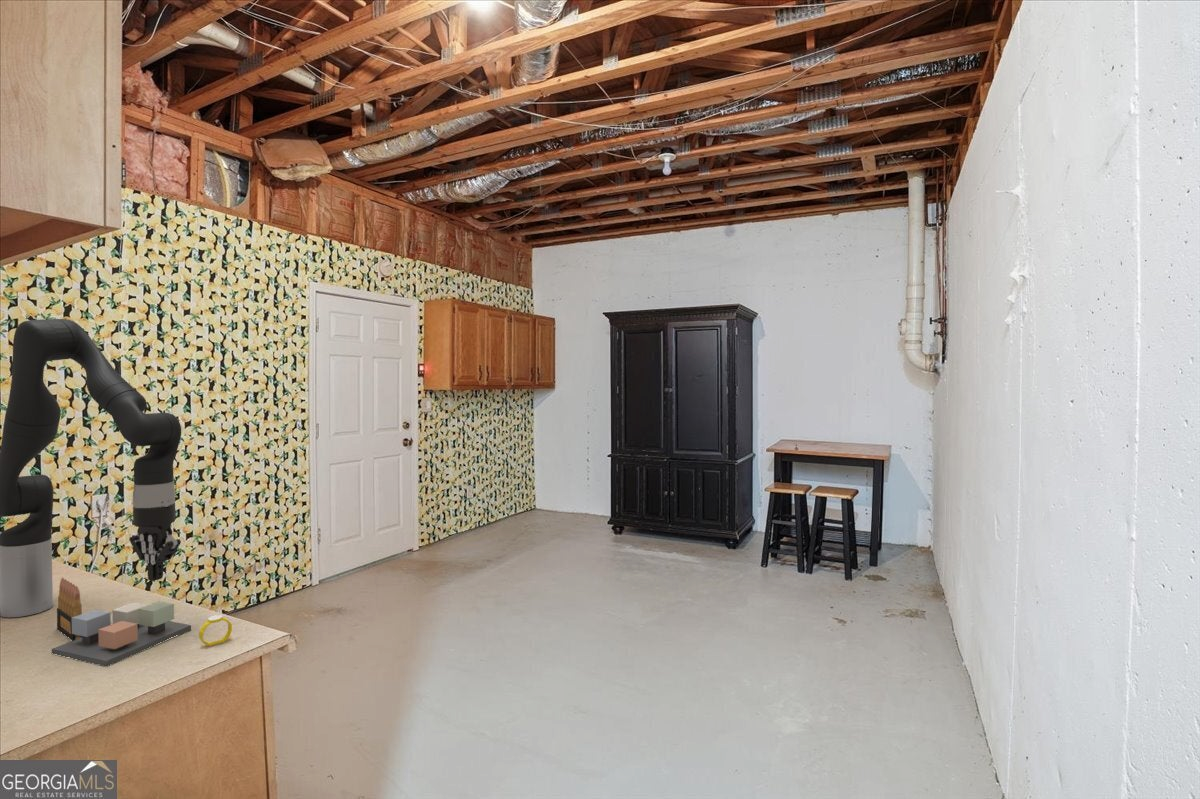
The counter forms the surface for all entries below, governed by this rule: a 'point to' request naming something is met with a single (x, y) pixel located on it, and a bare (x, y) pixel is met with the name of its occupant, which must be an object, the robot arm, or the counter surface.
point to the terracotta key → (118, 634)
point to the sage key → (155, 613)
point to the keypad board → (121, 653)
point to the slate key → (90, 622)
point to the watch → (213, 620)
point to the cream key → (127, 613)
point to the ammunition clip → (68, 608)
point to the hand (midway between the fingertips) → (155, 579)
